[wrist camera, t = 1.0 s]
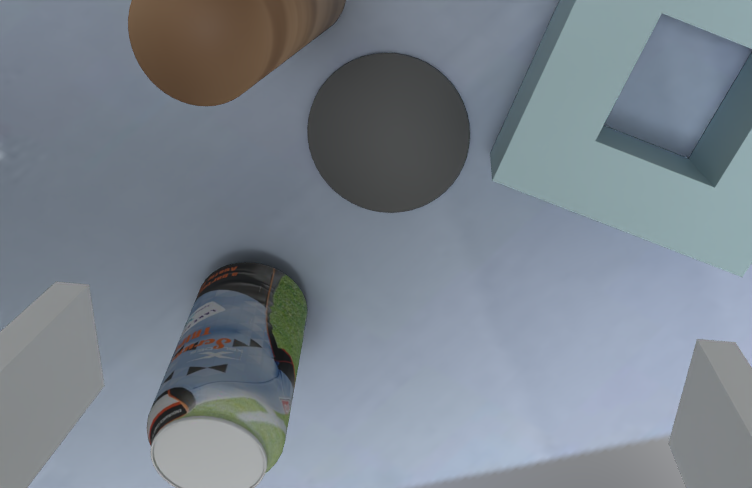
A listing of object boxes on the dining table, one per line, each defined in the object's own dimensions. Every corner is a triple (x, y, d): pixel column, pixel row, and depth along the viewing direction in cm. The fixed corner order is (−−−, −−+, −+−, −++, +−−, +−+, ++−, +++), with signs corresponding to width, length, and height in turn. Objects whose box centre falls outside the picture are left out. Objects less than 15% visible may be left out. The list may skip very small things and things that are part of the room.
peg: (251, 16, 33) (116, 76, 21) (274, -71, 31) (142, -64, 19) (331, 47, 33) (245, 125, 21) (358, -38, 32) (283, -9, 19)
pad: (289, 177, 36) (287, 179, 36) (337, 27, 33) (336, 28, 33) (433, 232, 37) (433, 234, 36) (496, 89, 33) (496, 90, 33)
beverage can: (247, 229, 38) (158, 353, 27) (350, 313, 39) (304, 462, 29) (184, 301, 40) (79, 441, 30) (283, 378, 42) (217, 538, 31)
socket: (490, 153, 34) (492, 180, 31) (606, -104, 29) (625, -107, 26) (714, 240, 35) (741, 277, 31) (868, 2, 30) (922, 13, 26)
